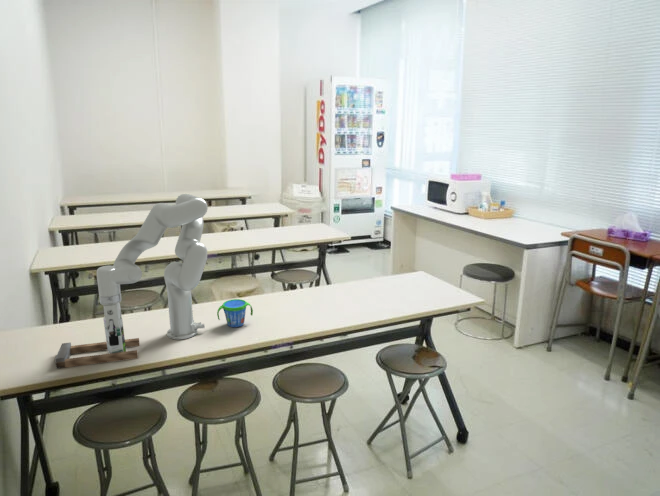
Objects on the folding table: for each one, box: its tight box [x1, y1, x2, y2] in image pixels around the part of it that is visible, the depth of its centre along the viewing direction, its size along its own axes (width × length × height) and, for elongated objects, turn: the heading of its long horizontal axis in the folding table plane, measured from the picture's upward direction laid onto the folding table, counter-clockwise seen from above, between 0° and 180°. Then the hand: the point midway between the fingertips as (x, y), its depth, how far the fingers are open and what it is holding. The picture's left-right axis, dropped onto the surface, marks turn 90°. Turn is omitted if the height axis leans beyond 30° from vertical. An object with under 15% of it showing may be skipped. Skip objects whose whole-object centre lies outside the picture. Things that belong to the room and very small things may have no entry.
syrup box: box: [102, 316, 127, 354], centre depth 190 cm, size 6×6×14 cm
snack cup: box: [216, 298, 254, 328], centre depth 218 cm, size 16×10×10 cm
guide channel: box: [54, 337, 141, 370], centre depth 190 cm, size 28×13×4 cm, turn 108°
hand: (115, 340), depth 191 cm, fingers closed on syrup box, 7 cm apart
